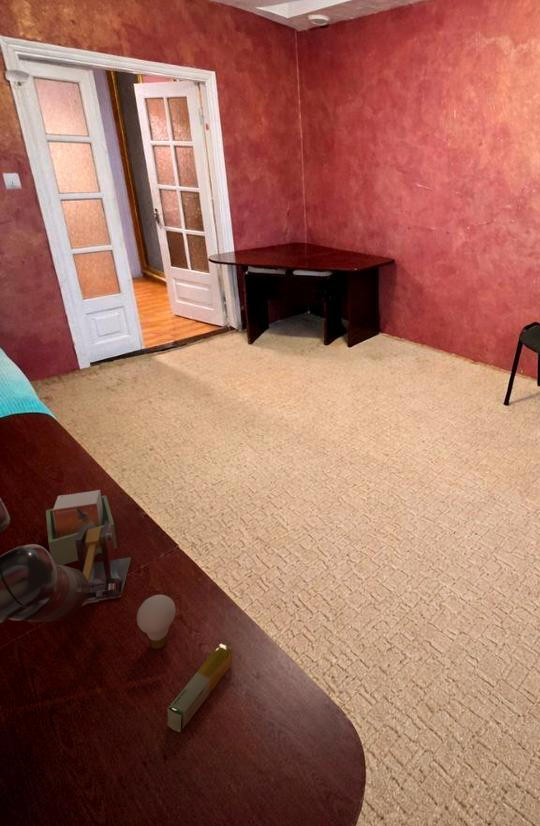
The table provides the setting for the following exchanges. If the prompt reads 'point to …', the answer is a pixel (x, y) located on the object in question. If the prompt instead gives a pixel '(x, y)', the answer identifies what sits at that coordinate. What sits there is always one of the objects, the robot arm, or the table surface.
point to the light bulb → (156, 619)
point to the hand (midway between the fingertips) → (82, 596)
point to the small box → (77, 512)
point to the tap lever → (91, 550)
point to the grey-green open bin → (72, 537)
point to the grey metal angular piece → (110, 563)
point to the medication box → (199, 688)
